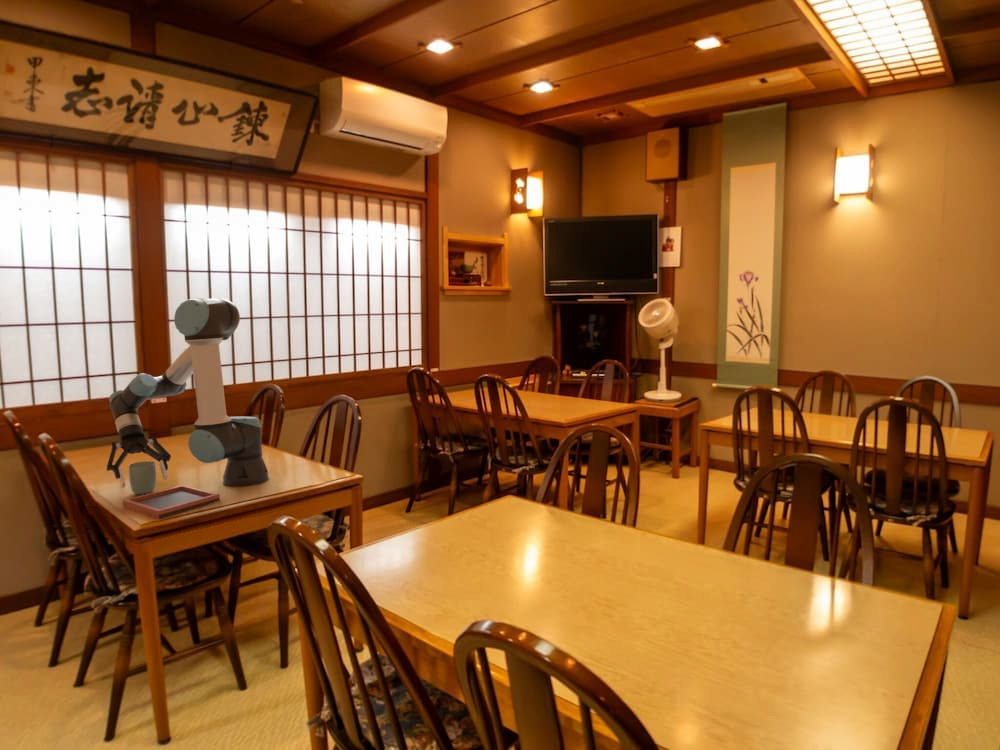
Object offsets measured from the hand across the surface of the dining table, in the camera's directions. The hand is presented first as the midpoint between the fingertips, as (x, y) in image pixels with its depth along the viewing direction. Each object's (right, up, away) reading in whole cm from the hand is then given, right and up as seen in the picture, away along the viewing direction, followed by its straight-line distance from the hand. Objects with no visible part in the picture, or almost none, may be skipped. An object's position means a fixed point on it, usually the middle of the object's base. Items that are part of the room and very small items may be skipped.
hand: (145, 481), depth 220 cm
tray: (+14, -6, -10) cm, 18 cm away
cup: (-2, -4, +3) cm, 5 cm away
